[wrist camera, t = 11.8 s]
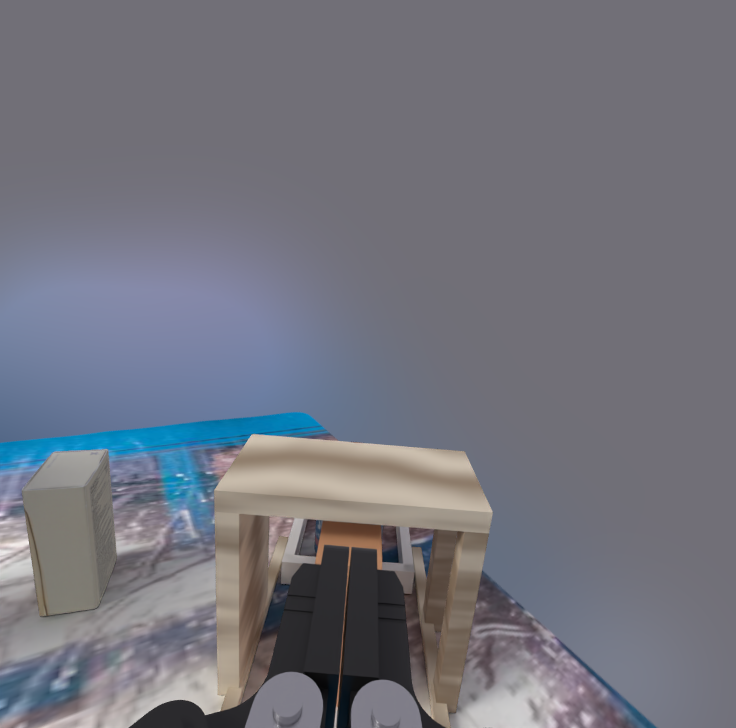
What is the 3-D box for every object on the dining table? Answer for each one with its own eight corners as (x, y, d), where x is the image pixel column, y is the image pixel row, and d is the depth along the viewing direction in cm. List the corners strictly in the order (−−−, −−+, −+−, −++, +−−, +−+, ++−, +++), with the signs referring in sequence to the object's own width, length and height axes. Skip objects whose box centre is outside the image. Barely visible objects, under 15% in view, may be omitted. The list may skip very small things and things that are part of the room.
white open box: (427, 737, 27) (454, 577, 24) (241, 723, 27) (241, 560, 24) (402, 513, 51) (414, 417, 48) (302, 505, 51) (307, 408, 47)
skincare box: (67, 565, 39) (52, 450, 36) (120, 558, 40) (109, 447, 37) (37, 620, 33) (16, 489, 30) (100, 611, 35) (86, 484, 32)
